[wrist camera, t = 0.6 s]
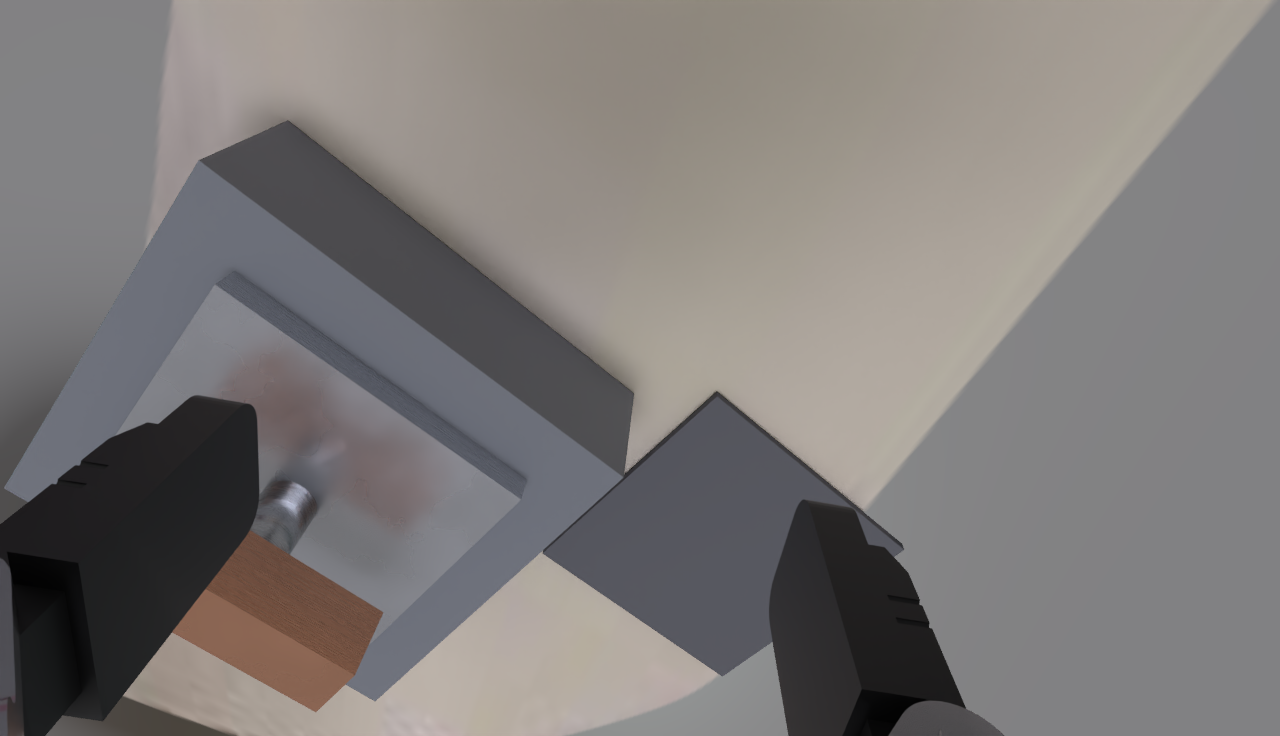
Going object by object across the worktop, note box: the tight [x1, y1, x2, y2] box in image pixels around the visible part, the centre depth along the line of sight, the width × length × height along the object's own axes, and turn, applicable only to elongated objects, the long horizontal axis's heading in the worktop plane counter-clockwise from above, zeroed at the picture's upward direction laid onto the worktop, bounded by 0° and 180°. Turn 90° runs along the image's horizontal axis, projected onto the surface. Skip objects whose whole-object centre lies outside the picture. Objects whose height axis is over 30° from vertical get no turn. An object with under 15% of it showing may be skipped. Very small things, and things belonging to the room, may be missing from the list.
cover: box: [115, 270, 527, 712], centre depth 28 cm, size 12×12×9 cm
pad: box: [543, 392, 904, 676], centre depth 37 cm, size 12×12×1 cm
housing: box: [5, 121, 634, 701], centre depth 32 cm, size 17×17×6 cm
